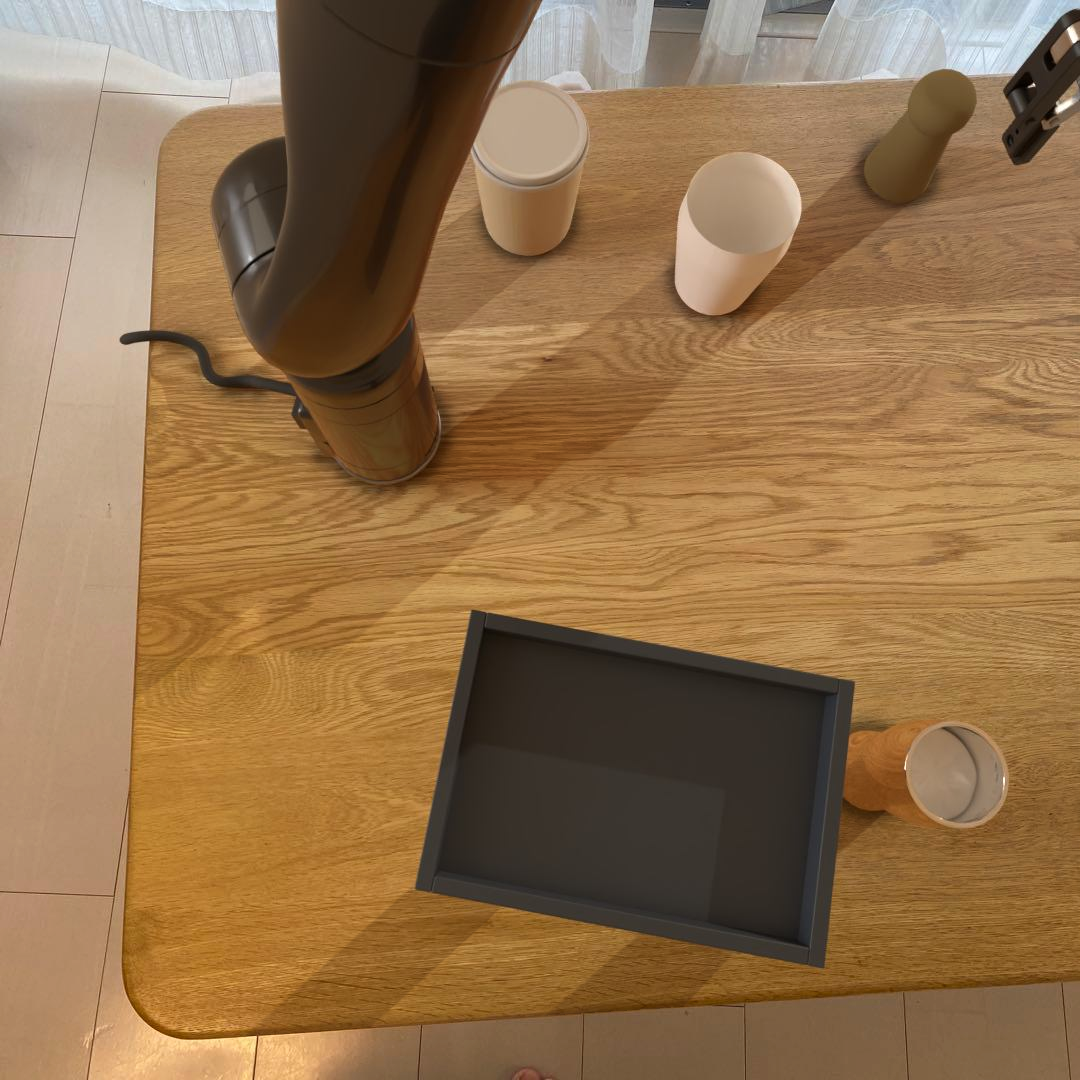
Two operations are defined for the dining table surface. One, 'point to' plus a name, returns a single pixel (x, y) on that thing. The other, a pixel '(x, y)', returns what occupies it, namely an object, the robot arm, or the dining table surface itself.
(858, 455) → the dining table surface
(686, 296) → the cup
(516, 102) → the coffee cup
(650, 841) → the tray
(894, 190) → the cork
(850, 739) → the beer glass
